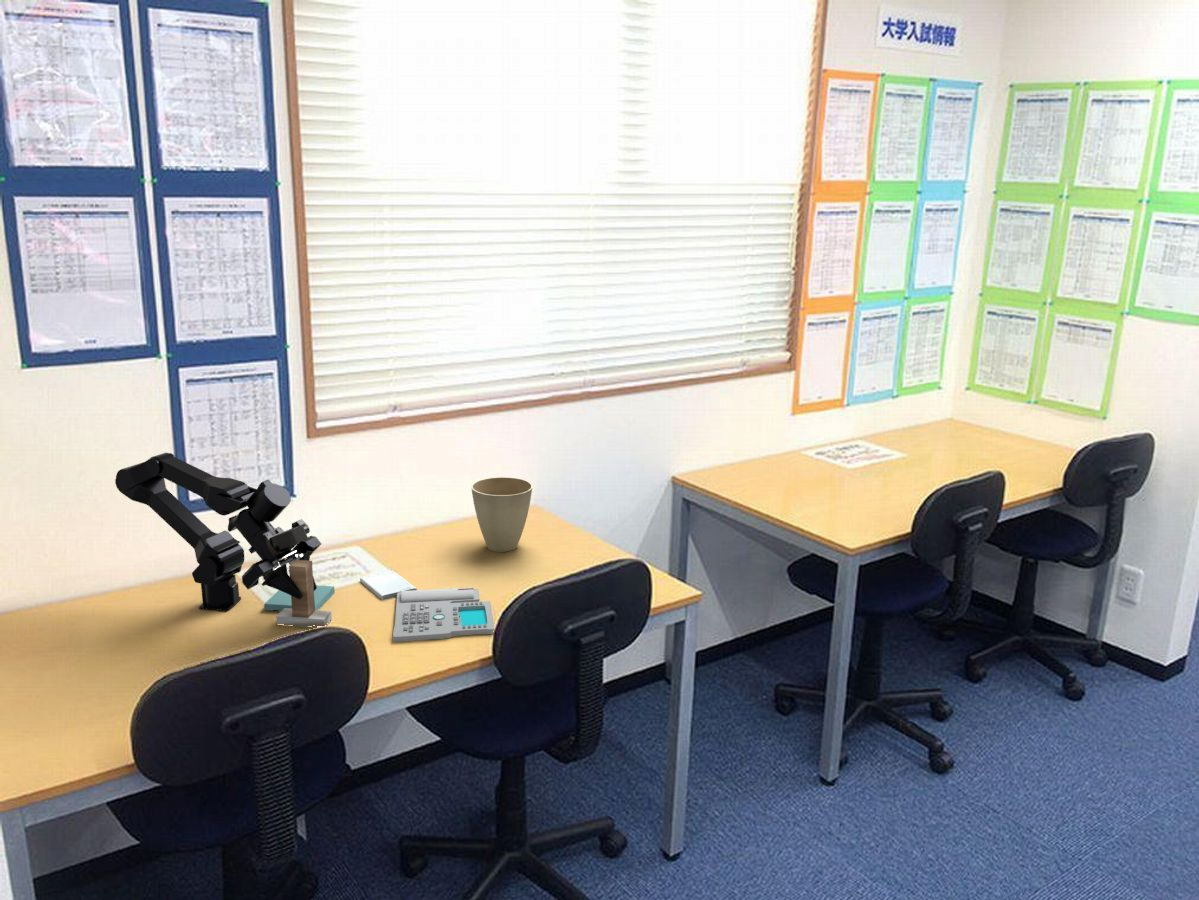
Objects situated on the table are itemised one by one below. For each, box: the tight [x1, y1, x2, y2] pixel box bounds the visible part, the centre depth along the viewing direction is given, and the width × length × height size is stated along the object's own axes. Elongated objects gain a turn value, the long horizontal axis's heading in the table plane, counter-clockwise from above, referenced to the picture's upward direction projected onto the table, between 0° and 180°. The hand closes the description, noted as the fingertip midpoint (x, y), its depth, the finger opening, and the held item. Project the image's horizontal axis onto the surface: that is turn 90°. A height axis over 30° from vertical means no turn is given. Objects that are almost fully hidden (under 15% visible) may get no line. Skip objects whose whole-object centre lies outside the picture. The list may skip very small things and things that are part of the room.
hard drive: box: [359, 570, 418, 601], centre depth 222 cm, size 2×8×12 cm
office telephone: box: [392, 586, 495, 643], centre depth 208 cm, size 23×3×20 cm
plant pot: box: [470, 476, 533, 553], centre depth 245 cm, size 15×15×16 cm
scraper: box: [275, 560, 333, 628], centre depth 202 cm, size 4×10×13 cm, turn 84°
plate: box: [264, 584, 335, 612], centre depth 213 cm, size 11×11×2 cm
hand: (308, 593), depth 201 cm, fingers closed on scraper, 4 cm apart
